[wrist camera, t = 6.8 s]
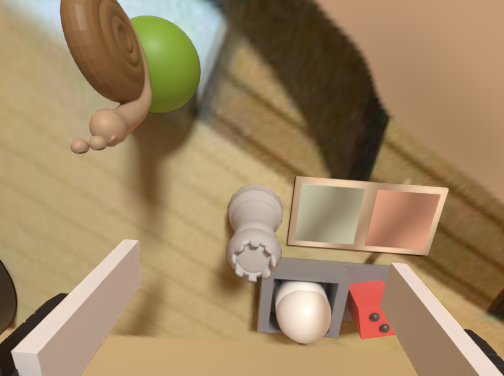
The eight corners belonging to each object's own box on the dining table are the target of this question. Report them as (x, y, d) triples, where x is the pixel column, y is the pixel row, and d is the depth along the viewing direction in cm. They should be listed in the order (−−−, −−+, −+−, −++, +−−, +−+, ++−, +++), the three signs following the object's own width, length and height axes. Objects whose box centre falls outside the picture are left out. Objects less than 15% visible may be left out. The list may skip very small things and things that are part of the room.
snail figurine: (149, 130, 21) (13, 168, 9) (121, 37, 19) (-93, -59, 7) (218, 117, 20) (164, 140, 9) (197, 21, 18) (94, -109, 7)
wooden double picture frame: (287, 242, 23) (287, 244, 23) (295, 176, 21) (296, 177, 21) (425, 253, 23) (427, 255, 23) (446, 187, 21) (449, 189, 21)
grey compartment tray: (257, 310, 26) (257, 345, 22) (262, 255, 24) (263, 284, 20) (383, 320, 26) (403, 357, 22) (398, 266, 24) (423, 296, 20)
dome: (272, 311, 25) (274, 354, 20) (277, 270, 23) (281, 308, 19) (320, 315, 25) (332, 359, 20) (328, 274, 23) (342, 312, 19)
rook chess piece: (273, 237, 23) (280, 304, 16) (223, 225, 23) (206, 286, 15) (289, 190, 22) (305, 238, 14) (235, 176, 22) (223, 217, 14)
